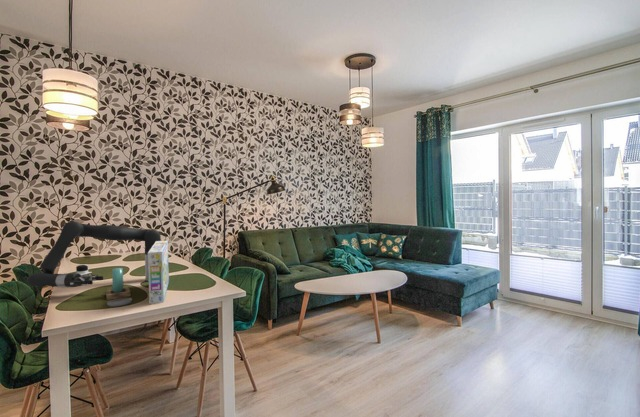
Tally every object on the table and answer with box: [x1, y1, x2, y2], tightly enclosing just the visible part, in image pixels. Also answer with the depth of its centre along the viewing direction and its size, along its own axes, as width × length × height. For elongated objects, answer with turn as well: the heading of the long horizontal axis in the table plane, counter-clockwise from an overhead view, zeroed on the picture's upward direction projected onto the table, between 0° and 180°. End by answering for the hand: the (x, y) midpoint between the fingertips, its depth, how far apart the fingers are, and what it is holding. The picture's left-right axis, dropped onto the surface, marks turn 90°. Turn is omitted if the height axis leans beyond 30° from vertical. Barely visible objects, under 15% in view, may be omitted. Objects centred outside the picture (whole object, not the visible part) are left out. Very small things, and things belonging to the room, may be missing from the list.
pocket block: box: [105, 286, 131, 301], centre depth 178 cm, size 11×11×2 cm
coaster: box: [106, 297, 133, 308], centre depth 165 cm, size 11×11×1 cm
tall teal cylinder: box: [111, 267, 124, 293], centre depth 177 cm, size 5×5×15 cm
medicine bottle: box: [75, 264, 93, 287], centre depth 200 cm, size 7×7×12 cm
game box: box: [148, 240, 170, 305], centre depth 183 cm, size 40×7×27 cm, turn 22°
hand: (97, 280), depth 177 cm, fingers open, 8 cm apart
